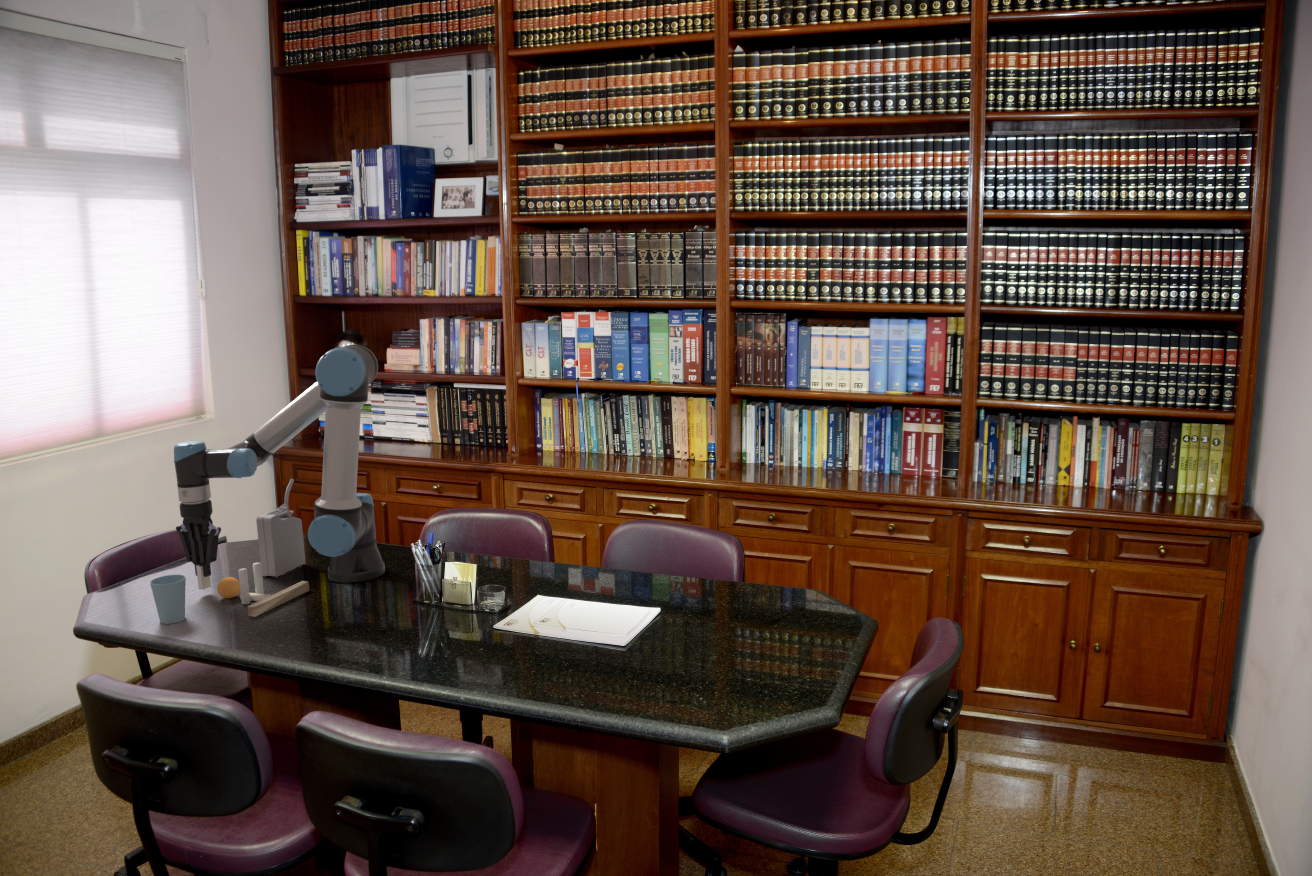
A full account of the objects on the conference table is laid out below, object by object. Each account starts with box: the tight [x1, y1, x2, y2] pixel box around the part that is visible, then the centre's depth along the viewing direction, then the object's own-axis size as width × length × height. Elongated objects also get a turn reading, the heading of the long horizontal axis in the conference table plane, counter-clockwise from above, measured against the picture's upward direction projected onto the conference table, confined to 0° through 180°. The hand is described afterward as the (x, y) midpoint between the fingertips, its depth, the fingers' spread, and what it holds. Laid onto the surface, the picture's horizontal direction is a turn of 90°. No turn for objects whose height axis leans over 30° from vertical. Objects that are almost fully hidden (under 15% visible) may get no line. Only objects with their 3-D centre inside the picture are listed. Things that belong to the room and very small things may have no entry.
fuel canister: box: [256, 478, 306, 578], centre depth 264 cm, size 15×5×25 cm, turn 163°
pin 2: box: [252, 562, 265, 594], centre depth 242 cm, size 2×2×9 cm
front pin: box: [239, 592, 272, 602], centre depth 240 cm, size 2×2×9 cm
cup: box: [149, 574, 187, 625], centre depth 226 cm, size 8×8×10 cm
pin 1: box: [238, 568, 251, 605], centre depth 237 cm, size 2×2×9 cm
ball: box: [216, 576, 241, 599], centre depth 242 cm, size 6×6×6 cm
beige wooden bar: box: [247, 580, 310, 618], centre depth 237 cm, size 2×20×2 cm, turn 162°
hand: (204, 587), depth 245 cm, fingers closed
